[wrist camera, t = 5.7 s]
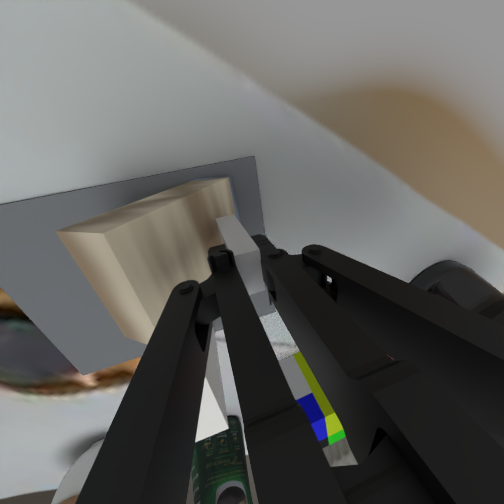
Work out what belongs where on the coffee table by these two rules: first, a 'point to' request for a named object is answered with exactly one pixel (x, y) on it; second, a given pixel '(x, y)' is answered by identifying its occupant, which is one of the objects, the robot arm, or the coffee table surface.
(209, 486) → the coffee jar
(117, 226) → the oak slab
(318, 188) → the coffee table surface
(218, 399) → the cream slab
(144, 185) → the mat
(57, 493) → the lidded jar
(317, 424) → the puzzle toy
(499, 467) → the robot arm
